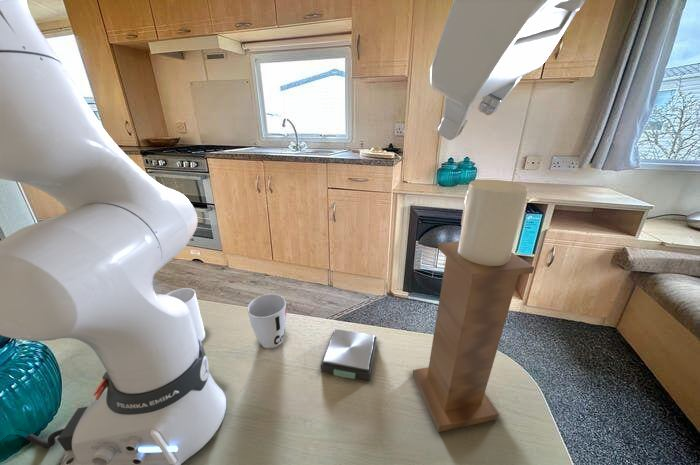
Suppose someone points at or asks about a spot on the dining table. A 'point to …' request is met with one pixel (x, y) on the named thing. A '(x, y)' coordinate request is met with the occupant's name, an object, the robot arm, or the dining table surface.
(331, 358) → the scale
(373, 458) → the dining table surface
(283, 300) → the cup
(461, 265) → the stand
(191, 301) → the mug
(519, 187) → the cream mug
